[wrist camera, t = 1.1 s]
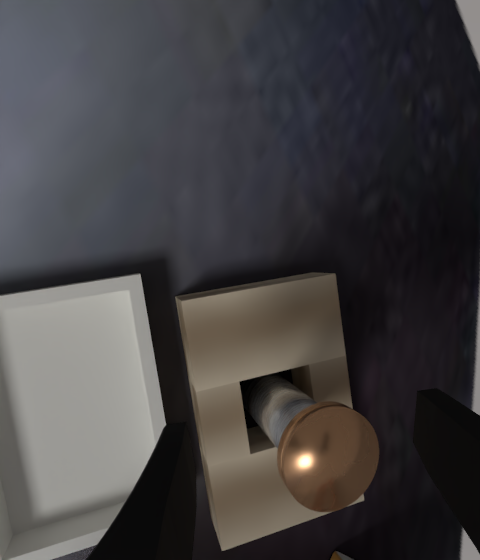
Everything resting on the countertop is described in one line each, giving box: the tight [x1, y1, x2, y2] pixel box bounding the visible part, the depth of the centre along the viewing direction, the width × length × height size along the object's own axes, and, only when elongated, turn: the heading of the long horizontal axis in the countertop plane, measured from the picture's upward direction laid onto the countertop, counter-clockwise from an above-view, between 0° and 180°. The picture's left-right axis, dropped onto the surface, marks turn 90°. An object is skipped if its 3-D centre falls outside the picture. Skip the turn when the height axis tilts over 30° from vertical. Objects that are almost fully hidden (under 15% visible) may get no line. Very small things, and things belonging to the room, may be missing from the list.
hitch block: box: [175, 272, 364, 551], centre depth 23 cm, size 14×9×3 cm, turn 9°
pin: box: [241, 373, 379, 512], centre depth 21 cm, size 4×4×9 cm
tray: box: [0, 273, 166, 560], centre depth 21 cm, size 13×9×2 cm
